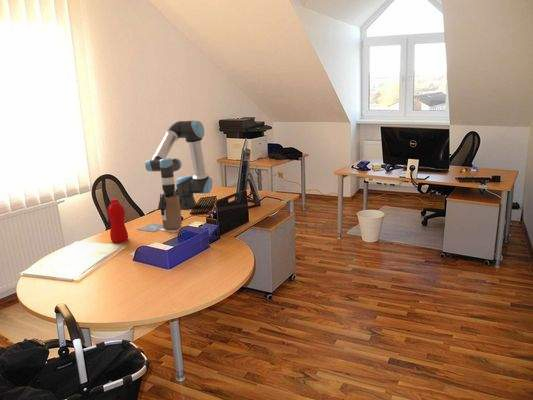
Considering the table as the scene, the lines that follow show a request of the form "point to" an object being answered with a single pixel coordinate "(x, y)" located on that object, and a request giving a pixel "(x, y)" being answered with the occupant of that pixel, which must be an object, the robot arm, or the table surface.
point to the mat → (171, 229)
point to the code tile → (152, 227)
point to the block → (172, 212)
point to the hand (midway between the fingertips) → (171, 217)
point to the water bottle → (117, 221)
